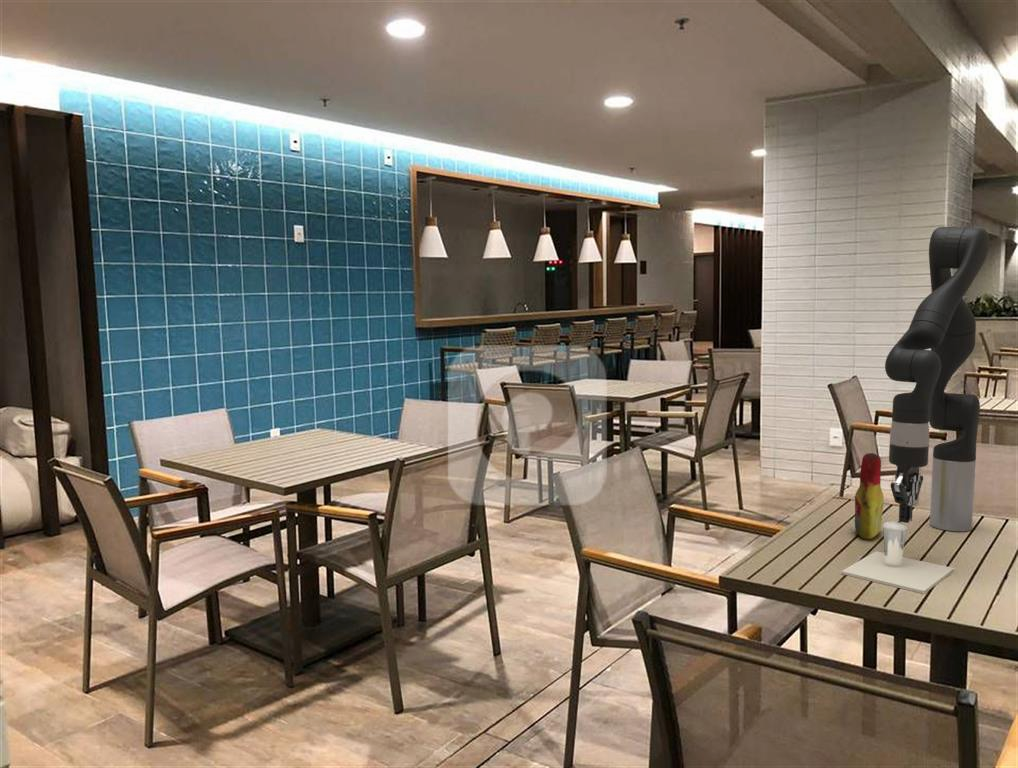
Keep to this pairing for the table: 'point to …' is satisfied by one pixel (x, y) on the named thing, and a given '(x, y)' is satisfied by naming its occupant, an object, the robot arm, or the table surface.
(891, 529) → the milkshake
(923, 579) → the mat
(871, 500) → the bottle
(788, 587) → the table surface
